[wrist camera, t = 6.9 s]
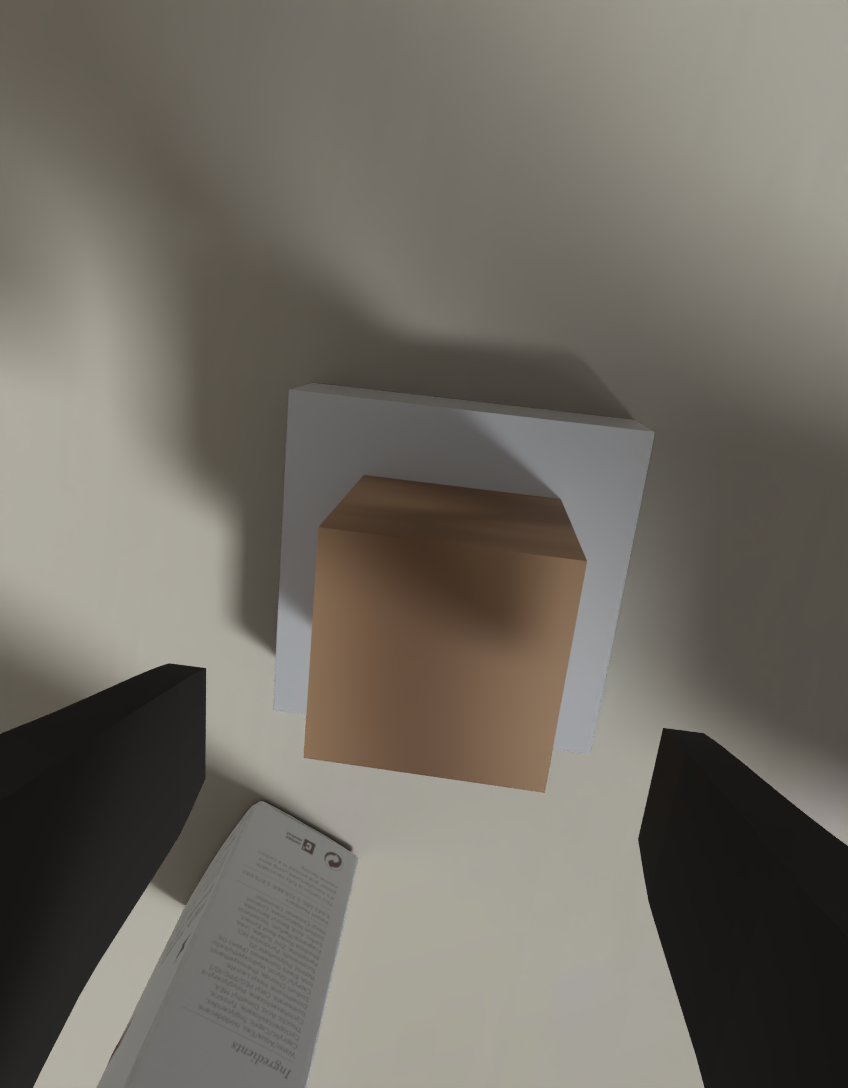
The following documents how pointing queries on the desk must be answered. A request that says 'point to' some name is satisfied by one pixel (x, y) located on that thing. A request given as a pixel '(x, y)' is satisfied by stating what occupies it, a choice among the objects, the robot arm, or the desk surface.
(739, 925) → the robot arm
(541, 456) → the stoneware block
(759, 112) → the desk surface
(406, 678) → the walnut cube
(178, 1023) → the skincare box
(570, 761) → the desk surface
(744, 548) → the desk surface
